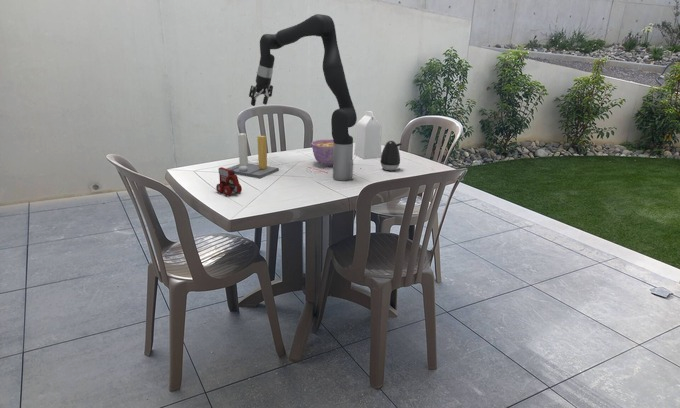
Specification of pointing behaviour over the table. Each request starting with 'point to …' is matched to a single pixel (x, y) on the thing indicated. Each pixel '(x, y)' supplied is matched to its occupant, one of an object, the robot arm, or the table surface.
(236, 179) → the toy fire truck
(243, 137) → the lever ivory
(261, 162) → the lever amber
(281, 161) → the table surface
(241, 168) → the button grey
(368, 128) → the milk
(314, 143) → the bowl of food
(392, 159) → the pump dispenser
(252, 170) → the panel
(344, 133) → the robot arm
